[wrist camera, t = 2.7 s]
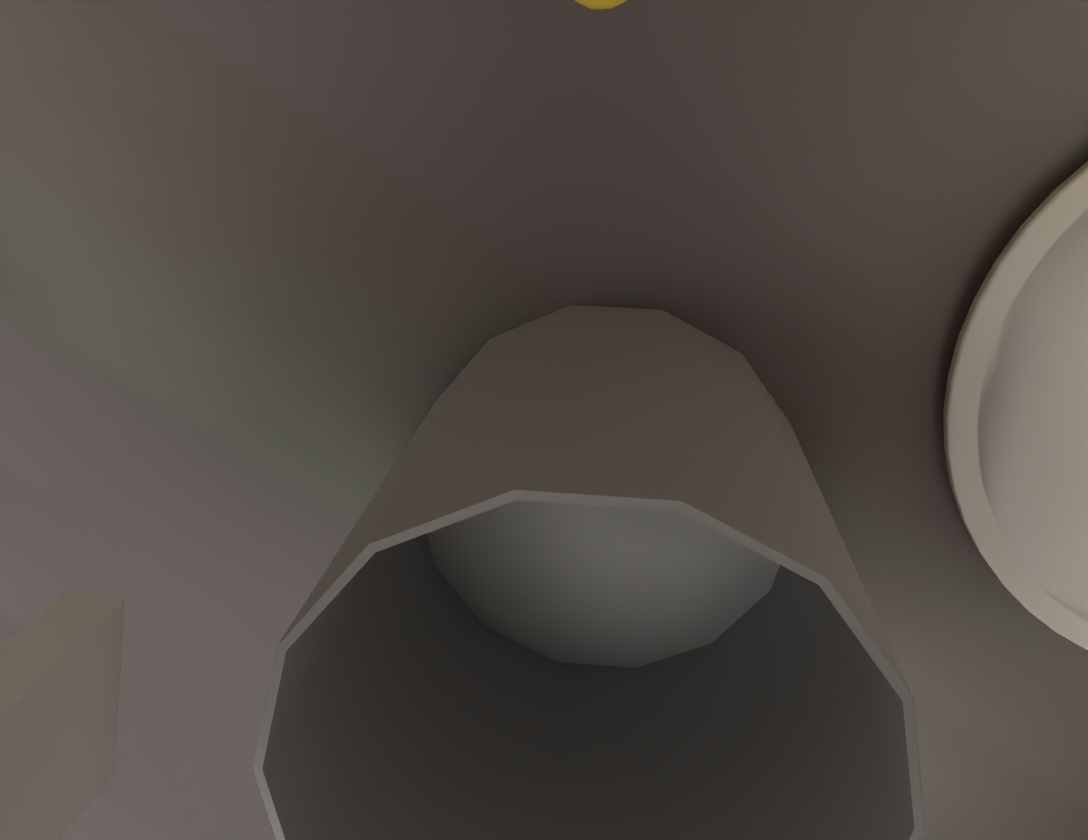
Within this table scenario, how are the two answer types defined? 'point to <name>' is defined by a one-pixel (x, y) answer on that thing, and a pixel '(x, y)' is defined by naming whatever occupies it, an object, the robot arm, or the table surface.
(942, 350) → the table surface
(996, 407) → the dish
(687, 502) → the cup
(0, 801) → the robot arm
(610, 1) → the teapot
